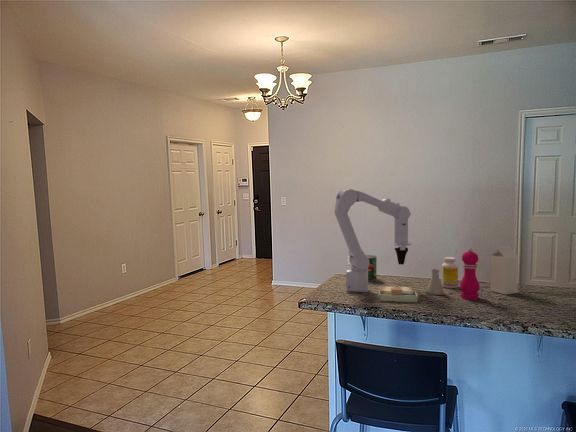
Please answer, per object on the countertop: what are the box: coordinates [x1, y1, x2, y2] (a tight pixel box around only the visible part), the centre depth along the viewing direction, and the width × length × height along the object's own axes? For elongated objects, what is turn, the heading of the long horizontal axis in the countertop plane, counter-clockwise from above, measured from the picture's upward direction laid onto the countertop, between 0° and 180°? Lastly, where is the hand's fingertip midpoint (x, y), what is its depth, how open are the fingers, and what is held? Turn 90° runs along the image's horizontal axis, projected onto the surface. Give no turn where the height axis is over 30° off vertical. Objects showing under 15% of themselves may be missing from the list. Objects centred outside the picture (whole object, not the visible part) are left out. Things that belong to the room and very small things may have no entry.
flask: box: [425, 268, 445, 296], centre depth 171 cm, size 7×7×10 cm
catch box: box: [378, 290, 419, 303], centre depth 162 cm, size 15×6×2 cm, turn 80°
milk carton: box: [490, 245, 519, 295], centre depth 170 cm, size 7×7×19 cm
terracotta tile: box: [391, 288, 402, 295], centre depth 161 cm, size 4×4×2 cm
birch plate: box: [378, 285, 416, 296], centre depth 169 cm, size 14×8×2 cm, turn 80°
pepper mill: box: [459, 247, 481, 301], centre depth 162 cm, size 7×7×20 cm
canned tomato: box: [365, 254, 378, 282], centre depth 199 cm, size 8×8×11 cm
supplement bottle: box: [441, 256, 459, 289], centre depth 181 cm, size 7×7×13 cm
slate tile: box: [402, 291, 413, 295], centre depth 162 cm, size 4×4×2 cm
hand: (401, 264), depth 181 cm, fingers closed
